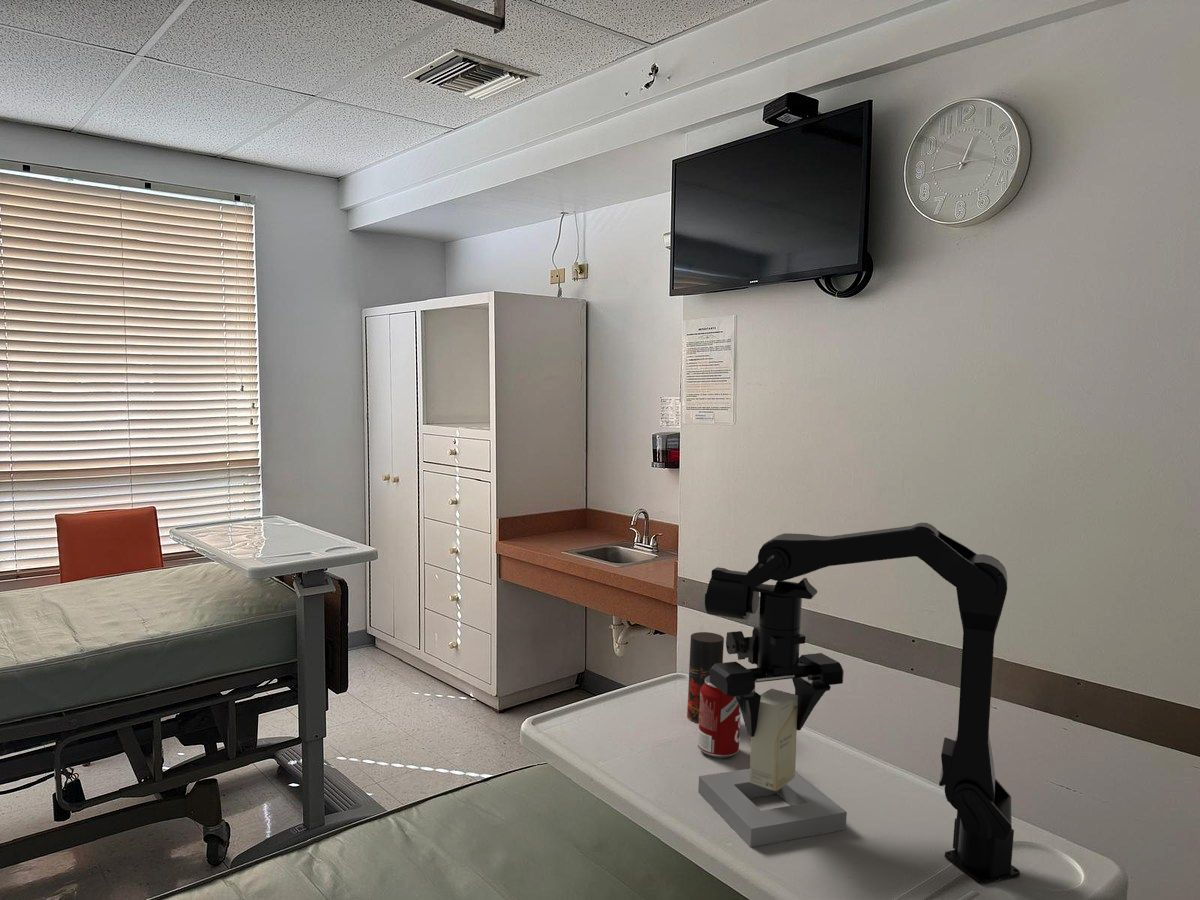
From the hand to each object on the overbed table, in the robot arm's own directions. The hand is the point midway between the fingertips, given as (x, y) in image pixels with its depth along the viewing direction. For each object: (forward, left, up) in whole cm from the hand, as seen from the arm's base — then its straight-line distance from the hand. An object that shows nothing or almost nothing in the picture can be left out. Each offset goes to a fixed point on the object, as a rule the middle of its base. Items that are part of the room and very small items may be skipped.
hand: (774, 732), depth 116 cm
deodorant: (+32, -6, -12) cm, 35 cm away
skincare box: (0, 0, -7) cm, 7 cm away
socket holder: (0, 0, -12) cm, 12 cm away
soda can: (+19, -2, -12) cm, 22 cm away
